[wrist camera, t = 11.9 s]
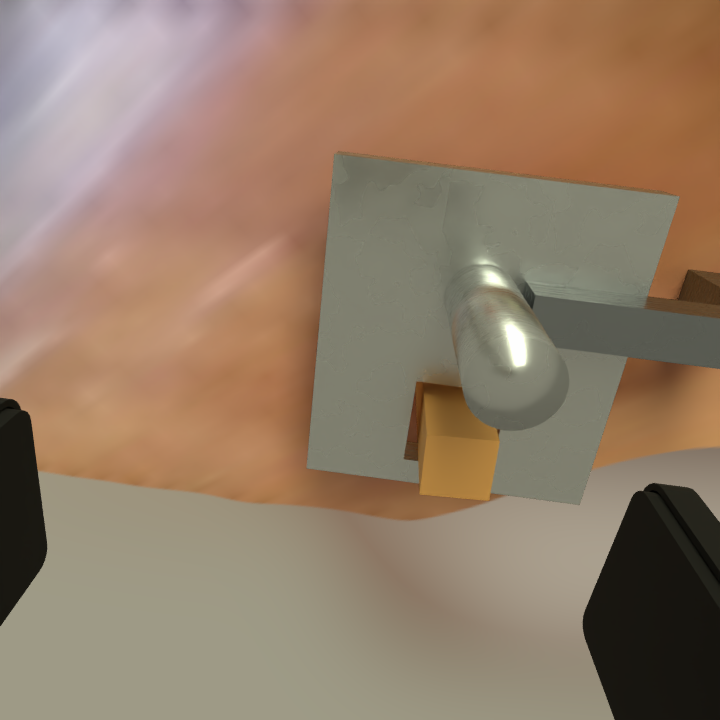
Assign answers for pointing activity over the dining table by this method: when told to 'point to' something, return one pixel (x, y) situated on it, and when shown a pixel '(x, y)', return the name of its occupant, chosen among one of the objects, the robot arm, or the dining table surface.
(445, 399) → the mustard rectangular block
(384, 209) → the grey metal piece
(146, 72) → the dining table surface
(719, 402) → the dining table surface
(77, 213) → the dining table surface
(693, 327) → the bracket
